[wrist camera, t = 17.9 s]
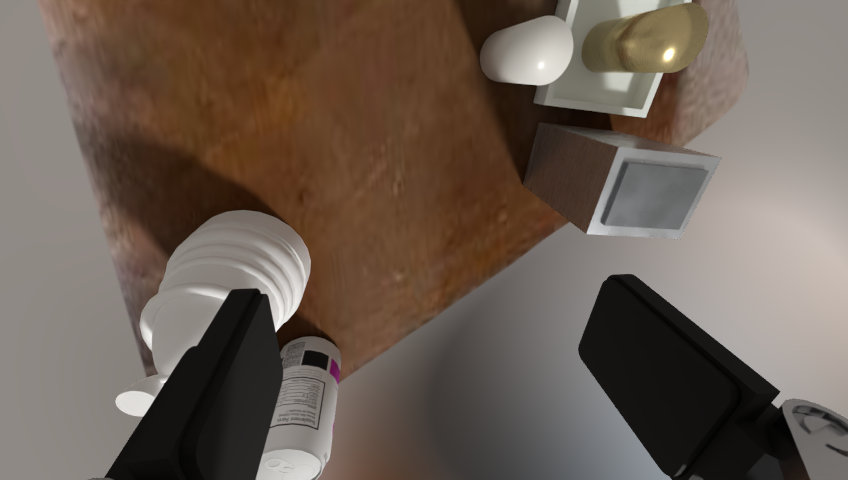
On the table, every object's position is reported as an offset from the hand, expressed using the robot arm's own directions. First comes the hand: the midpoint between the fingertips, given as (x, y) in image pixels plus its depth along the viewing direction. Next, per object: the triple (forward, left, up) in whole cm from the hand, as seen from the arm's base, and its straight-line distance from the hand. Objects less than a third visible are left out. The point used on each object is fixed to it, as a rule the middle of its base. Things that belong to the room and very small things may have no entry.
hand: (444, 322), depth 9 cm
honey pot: (+15, -15, -28) cm, 35 cm away
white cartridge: (-9, +10, -28) cm, 31 cm away
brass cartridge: (-11, +20, -27) cm, 35 cm away
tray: (-11, +20, -28) cm, 36 cm away
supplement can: (+30, -9, -28) cm, 42 cm away
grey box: (0, +20, -28) cm, 34 cm away
